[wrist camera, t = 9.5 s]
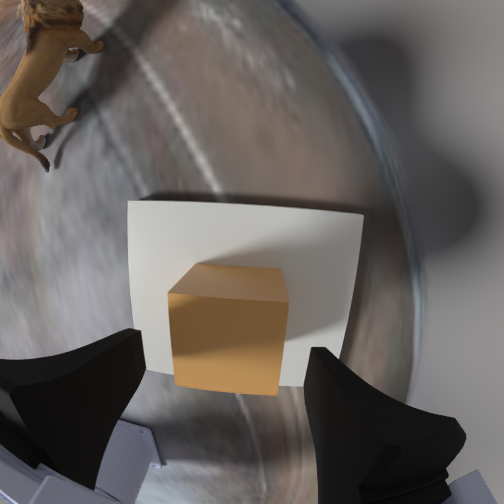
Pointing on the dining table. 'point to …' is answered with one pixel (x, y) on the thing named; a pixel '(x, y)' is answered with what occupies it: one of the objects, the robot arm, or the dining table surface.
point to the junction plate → (247, 255)
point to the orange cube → (228, 328)
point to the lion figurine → (42, 70)
